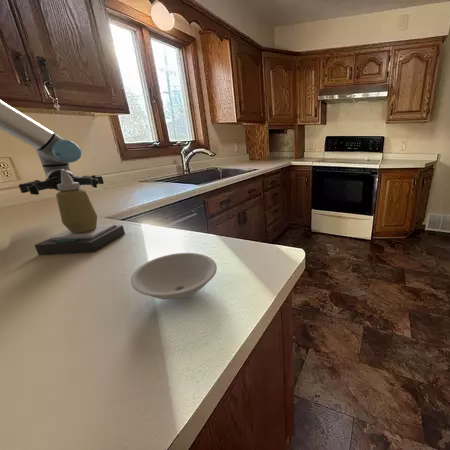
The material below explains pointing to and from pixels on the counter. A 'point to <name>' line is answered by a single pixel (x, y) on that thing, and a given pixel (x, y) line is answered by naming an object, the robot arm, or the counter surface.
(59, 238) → the kitchen scale
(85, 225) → the squeeze bottle
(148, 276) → the dish
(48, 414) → the counter surface
